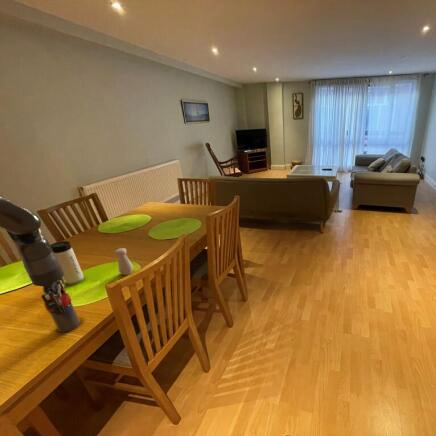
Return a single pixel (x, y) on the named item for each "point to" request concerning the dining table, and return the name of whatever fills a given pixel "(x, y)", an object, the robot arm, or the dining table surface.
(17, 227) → the robot arm
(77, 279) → the travel mug
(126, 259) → the salt shaker
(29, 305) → the dining table surface
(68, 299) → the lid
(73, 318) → the jar
